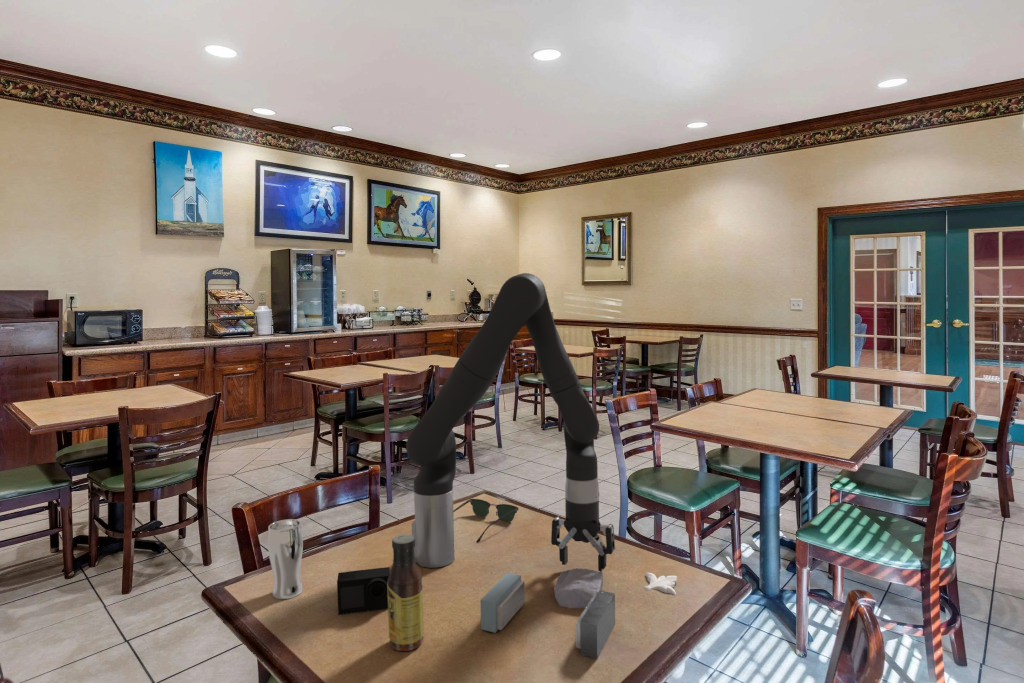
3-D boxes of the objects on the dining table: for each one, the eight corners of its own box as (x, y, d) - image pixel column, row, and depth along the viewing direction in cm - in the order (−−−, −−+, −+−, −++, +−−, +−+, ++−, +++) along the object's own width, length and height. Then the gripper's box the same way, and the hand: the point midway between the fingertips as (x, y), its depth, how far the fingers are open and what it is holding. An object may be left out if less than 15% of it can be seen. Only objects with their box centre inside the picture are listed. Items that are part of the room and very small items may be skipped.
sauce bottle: (391, 635, 109) (388, 530, 107) (425, 632, 109) (422, 529, 108) (386, 656, 102) (383, 545, 101) (422, 653, 103) (419, 543, 101)
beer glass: (311, 588, 127) (309, 521, 126) (287, 603, 121) (284, 532, 120) (288, 582, 130) (285, 516, 129) (263, 596, 124) (259, 528, 123)
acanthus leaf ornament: (645, 578, 131) (645, 569, 131) (677, 581, 129) (677, 573, 128) (642, 593, 123) (642, 584, 123) (676, 597, 121) (676, 589, 121)
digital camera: (337, 618, 115) (335, 584, 114) (339, 605, 120) (337, 572, 120) (390, 611, 117) (389, 577, 117) (390, 598, 122) (389, 566, 122)
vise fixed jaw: (575, 653, 102) (574, 620, 101) (594, 619, 113) (594, 589, 112) (597, 659, 100) (596, 625, 100) (615, 623, 111) (614, 593, 111)
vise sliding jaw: (481, 629, 109) (480, 599, 109) (508, 599, 120) (507, 572, 120) (500, 633, 108) (499, 604, 107) (525, 603, 119) (525, 576, 118)
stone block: (554, 616, 118) (603, 610, 116) (549, 592, 118) (598, 587, 116) (561, 590, 129) (606, 584, 127) (557, 568, 130) (601, 563, 127)
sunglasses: (436, 534, 158) (435, 515, 157) (471, 514, 172) (470, 497, 172) (487, 545, 149) (486, 526, 149) (519, 523, 164) (519, 506, 164)
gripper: (546, 497, 130) (547, 568, 131) (608, 505, 124) (609, 579, 125) (557, 488, 137) (558, 555, 138) (617, 495, 131) (617, 565, 132)
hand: (582, 566), depth 132 cm, fingers open, 8 cm apart
